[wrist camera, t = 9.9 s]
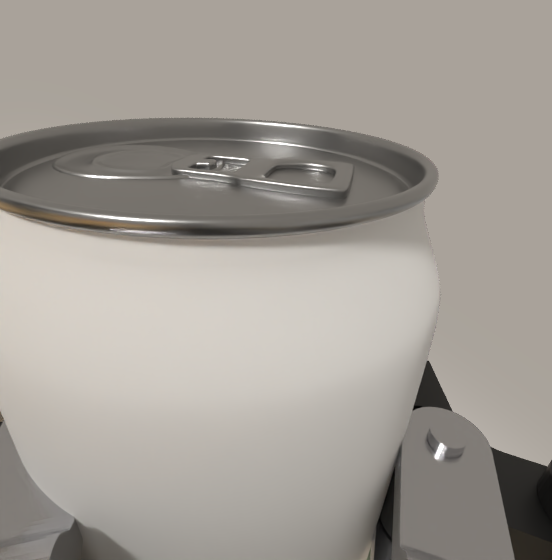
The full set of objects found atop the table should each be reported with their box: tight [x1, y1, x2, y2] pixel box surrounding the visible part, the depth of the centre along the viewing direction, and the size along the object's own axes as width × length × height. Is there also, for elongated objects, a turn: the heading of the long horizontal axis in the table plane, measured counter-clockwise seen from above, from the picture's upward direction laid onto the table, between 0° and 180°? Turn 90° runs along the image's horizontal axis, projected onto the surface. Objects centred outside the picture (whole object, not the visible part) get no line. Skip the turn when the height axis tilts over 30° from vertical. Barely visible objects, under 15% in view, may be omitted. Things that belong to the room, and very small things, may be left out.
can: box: [0, 118, 440, 560], centre depth 8 cm, size 6×6×12 cm
